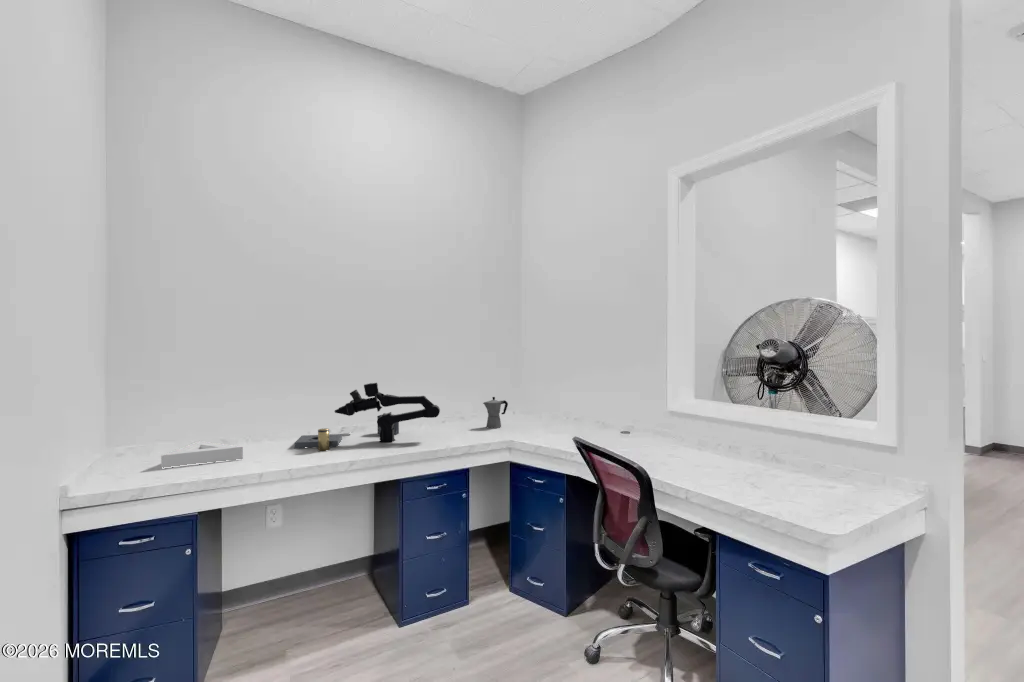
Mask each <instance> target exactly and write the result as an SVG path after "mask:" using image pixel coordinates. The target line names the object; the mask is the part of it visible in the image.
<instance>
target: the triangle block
mask: <svg viewBox="0 0 1024 682" xmlns="http://www.w3.org/2000/svg"><path fill="white" fill-rule="evenodd" d="M243 448H244V447H243V446H240V445H239V446H238V445H234V444H233V445H231V444H225V443H224V444H223V443H218V442H209V441H203V440H198V441H196V442H193V443H190V444H188V445H185V446H183V447H181V448H180V447H179V448H177V449H175V450H172V451H169V452H167V453H164V454H161V456H160V459H161V460H160V462H161V463H160V465H161V467H163V468H164V467H171V466H180V465H187V464H196V463H207V462H216V461H226V460H236V459H243V460H244V455H243V454H244V452H243V450H244V449H243Z"/></svg>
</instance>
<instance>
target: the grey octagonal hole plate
mask: <svg viewBox="0 0 1024 682" xmlns="http://www.w3.org/2000/svg"><path fill="white" fill-rule="evenodd" d="M341 440H342V441H343V433H334V434H333V433H332V434H330V433H329V448H337V447H336V446H338V445H340V444H341V443H342V441H341ZM340 442H341V443H340ZM339 443H340V444H339ZM305 447H318V434H311V435H310V434H309V435H307V434H306V435H301V436H300V437H298V438H297V440H296V441H294V449H295V448H299V449H306V448H305ZM338 447H339V446H338Z"/></svg>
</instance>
